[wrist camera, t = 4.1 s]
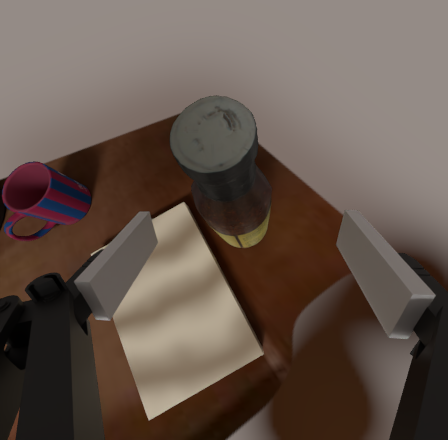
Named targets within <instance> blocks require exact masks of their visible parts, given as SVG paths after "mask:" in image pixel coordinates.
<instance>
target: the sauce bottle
mask: <svg viewBox="0 0 448 440" xmlns="http://www.w3.org/2000/svg"><path fill="white" fill-rule="evenodd" d="M170 147H171V150H172V153H173V155H174V157H175V159H176V160H177V162H178V164H179V165H180V167H181V168H182V170H183V171H184V172H185V173H186V174H187V175H188V176H189V177H190V178H191V179H193V180H194V182H193V184H192V186H191V188H192V190H191V191H192V194H193V198H194V202H195V205H196V208H197V210H198V212H199V213H200V215H201V216H202V217H203V219H204V220H205V221H206V222H207V223H208V225H209V226H210V227H211V228H212V229H213V230H214V231H216V232H217V233H218V234H219V235H220V236H221V237H222V238H223V239H224V240H225V241H226V242H227V243H229V244H230V245H232V246H235V247H239V248H240V247H241V248H248V247H251V246H253V245H255V244H257V243H258V242H259V241H261V239H262V238H263V237H264V235H265V233H266V231H267V226H268V221H269V215H270V208H271V192H272V187H271V186H270V184H269V182H268V181H267V179H266V177H265V176H264V174H263V173H262V171H261V170H260V169H259V168H258V167H257V166H256V164H255V161H254V160H255V158H256V155H257V151H258V137H257V127H256V123H255V119H254V117H253V114H252V113H251V112H250V111H249V109H247V108H246V107H245V106H244V105H243V104H241V103H239V102H238V101H236V100H233V99H231V98H228V97H222V96H209V97H205V98H202V99H200V100H198V101H196V102H194V103H193V104H191V105H190V106H188V107H187V108H185V110H184V111H183V112H182V113H181V114H180V115H179V116H178V117H177V119H176V121H175V122H174V123H173V126H172V130H171V132H170Z"/></svg>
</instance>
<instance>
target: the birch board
mask: <svg viewBox="0 0 448 440" xmlns="http://www.w3.org/2000/svg"><path fill="white" fill-rule="evenodd" d="M152 223H153V226H154V230H155V234H156V237H157V241H158V244H157V245H156V247H155V249H154V250H153V252H152V253H151V255H150V257H149V258H148V260H147V261H146V263H145V265H144V266H143V268H142V270H141V271H140V273H139V274H138V276H137V278H136V279H135V281H134V282H133V284H132V286H131V287H130V289H129V291H128V292H127V294H126V295H125V297H124V299H123V300H122V302H121V303H120V305H119V307H118V308H117V310H116V312H115V313H114V315H113V319H114V322H115V325H116V328H117V331H118V334H119V337H120V339H121V342H122V345H123V348H124V351H125V354H126V357H127V360H128V362H129V365H130V368H131V371H132V374H133V377H134V380H135V382H136V385H137V388H138V391H139V394H140V397H141V400H142V403H143V405H144V408H145V411H146V414H147V417H148V420H151V419H152V418H154V417H156V416H158V415H159V414H161V413H163V412H164V411H166V410H168V409H170V408H171V407H173V406H175V405H177V404H178V403H180V402H182V401H183V400H185V399H187V398H189V397H190V396H192V395H194V394H196V393H197V392H199V391H201V390H202V389H204V388H206V387H208V386H209V385H211V384H213V383H215V382H216V381H218V380H220V379H222V378H223V377H225V376H227V375H228V374H230V373H232V372H234V371H235V370H237V369H239V368H241V367H242V366H244V365H246V364H247V363H249V362H251V361H253V360H254V359H256V358H258V357H260V356H261V355H263V354H264V353H263V347H262V346H261V344H260V342H259V340H258V338H257V336H256V334H255V332H254V330H253V328H252V327H251V325H250V323H249V321H248V319H247V317H246V315H245V313H244V311H243V309H242V308H241V306H240V304H239V302H238V300H237V298H236V296H235V294H234V292H233V291H232V289H231V287H230V285H229V283H228V281H227V279H226V277H225V275H224V273H223V272H222V270H221V268H220V266H219V264H218V262H217V260H216V258H215V256H214V254H213V253H212V251H211V249H210V247H209V245H208V243H207V241H206V239H205V237H204V235H203V234H202V232H201V230H200V228H199V226H198V224H197V222H196V220H195V218H194V217H193V215H192V213H191V211H190V209H189V207H188V206H187V205H186V204H185V202H183V203H181V204H179V205H177V206H175V207H174V208H172V209H170V210H168V211H167V212H165V213H163V214H161V215H159V216H158V217H156V218H154V219H152ZM108 245H109V244H108ZM108 245H106V246H104V247H103V248H101V249H105V248H106V247H107V246H108ZM101 249H99V250H101ZM99 250H97V251H95V252H94V253H92V254H91V256H92V255H93V254H95V253H96V252H98V251H99Z"/></svg>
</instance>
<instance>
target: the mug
mask: <svg viewBox="0 0 448 440" xmlns="http://www.w3.org/2000/svg"><path fill="white" fill-rule="evenodd" d="M2 199H3V202H4V204H5V206H6V207H7V208H8V209H9V210H11V211H13V212H15V213H14V214H13V215H12V216H11V217H10V218H9V219H8V221H7V222H6V224H5V226H4V231H5V233H6V234H7V235H8V236H9V237H11V238H13V239H16V240H20V241H32V240H36V239H38V238H40V237H42V236H44V235H45V234H46V233H48V232H49V231H50V230H51V229H52V228H53V227H54V226H55V224H62V225H70V224H74V223H76V222H78V221H79V220H81V219H82V218H83V217H84V216H85V215H86V214H87V212H88V210H89V208H90V205H91V194H90V192H89V190H88V188H87V187H86V186H84V185H82V184H80V183H79V182H77V181H75V180H73V179H71V178H69V177H67V176H65V175H63V174H62V173H60V172H58V171H56V170H54V169H52V168H50V167H48V166H47V165H45V164H43V163H40V162H28V163H25V164H23V165H21V166H19V167H18V168H16V169H15V170H14V171H13V172H12V173H11V174H10V175H9V176H8V178H7V179H6V181H5V183H4V186H3V190H2ZM26 216H30V217H35V218H38V219H42V220H46V221H48V222H47V224H46V225H45V226H44V227H43V228H42V229H41V230H40V231H38V232H37V233H35V234H33V235H30V236H17V235H15V234H13V232H12V228H13V226H14V224H15V223H16V222H17V221H19V220H20V219H22V218H24V217H26Z"/></svg>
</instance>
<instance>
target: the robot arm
mask: <svg viewBox="0 0 448 440" xmlns="http://www.w3.org/2000/svg"><path fill="white" fill-rule="evenodd" d="M4 210H5V204H4V202H3V199H2V191H1V189H0V226H1V224H2V220H3V217H4ZM157 244H158V241H157V237H156V234H155V230H154V226H153V223H152V219H151V215H150V212H139V213H138V214H137V215H136V216H135V217H134V218H133V219H132V220H131V221H130V222H129V223H128V224H127V225H126V227H125V228H124V229H123V230H122V231H121V232H120V233H119V234H118V235H117V236H116V237H115V238H114V239H113V240H112V241H111V242H110V244H109V245H108V246H107V247H106V248H105V249H101V250H99V251H98V252H96V253H95V254H93V255H92V256H91V257H90V258H89V259H88V260H87V262H85V263H84V264H83V265H82V267H80V268H79V269H78V270H77V272H76V273H75V274H74V275H73V276H72V277H71V278H70V279H69V280H68V281H67V282H66V283H65V282H64V280H63V279H62V277H61V276H60V274H58V273H49V274H45V275H42V276H40V277H38V278H36V279H35V280H33V281H32V282H31V283H30V284H29V285H28V286H27V287H26V289H25V291H26V293H27V294H28V295H29V297H30V298H31V299H32V300H30V301H25V302H22V301H21V300H20V298H19V297H18V296H15V295H12V296H7V297H4V298H1V299H0V440H7V439H8V437H9V434H10V431H11V429H12V426H13V423H14V421H15V418H16V415H17V413H18V410H19V407H20V411H19V418H18V425H17V433H16V440H105V437H104V429H103V421H102V414H101V406H100V398H99V390H98V383H97V375H96V367H95V360H94V352H93V344H92V337H91V329H90V323H89V321H88V319H87V318H88V317H89V316H90V314H91V313H93V315H94V317H95V318H96V320H111V318H112V316H113V315H114V313H115V312H116V310H117V308H118V307H119V305H120V303H121V302H122V300H123V299H124V297H125V295H126V294H127V292H128V291H129V289H130V287H131V286H132V284H133V282H134V281H135V279H136V278H137V276H138V274H139V273H140V271H141V270H142V268H143V266H144V265H145V263H146V261H147V260H148V258H149V257H150V255H151V253H152V252H153V250H154V249H155V247H156V245H157ZM336 245H337V247H338V249H339V251H340V252H341V254H342V256H343V258H344V260H345V261H346V263H347V265H348V267H349V268H350V270H351V272H352V274H353V275H354V277H355V279H356V280H357V282H358V284H359V286H360V288H361V290H362V291H363V293H364V295H365V297H366V299H367V300H368V302H369V304H370V306H371V307H372V309H373V311H374V313H375V315H376V316H377V318H378V320H379V322H380V323H381V325H382V327H383V329H384V330H385V332H386V334H387V336H388V337H389V338H402V339H408V338H409V336H410V335H411V333H412V332H413V330H414V331H415V333H416V334H417V336H418V337H419V341H418V342H417V344H416V345H415V347H414V348H413V350H412V351H411V353H410V354H411V355H412V356H413V358H412V361H411V365H410V368H409V372H408V376H407V379H406V382H405V386H404V389H403V393H402V396H401V400H400V403H399V407H398V410H397V414H396V417H395V421H394V424H393V428H392V431H391V435H390V439H389V440H448V292H447V291H446V290H445V289H444V288H443V287H442V286H441V285H440V284H439V283H438V282H437V281H436V280H435V279H434V278H433V277H431V276H430V274H429V273H428V272H427V271H426V270H424V268H423V267H422V266H421V265H420V264H419V263H418V262H417V261H416V260H415V259H413V258H412V257H410V256H408V255H407V254H405V253H397V252H396V251H395V250H394V249H393V248H392V247H391V246H390V245H389V244H388V242H387V241H386V240H385V239H384V238H383V237H382V236H381V235H380V234H379V233H378V232H377V230H376V229H375V228H374V227H373V226H372V225H371V224H370V223H369V222H368V221H367V220H366V218H365V217H364V216H363V215H362V214H361V213H360V212H359V211H358V210H345V212H344V216H343V220H342V224H341V228H340V232H339V236H338V240H337V244H336ZM5 344H7V347H6V349H5V351H4V347H5Z"/></svg>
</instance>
